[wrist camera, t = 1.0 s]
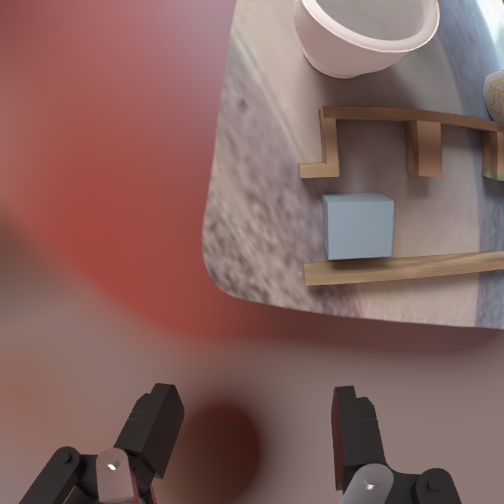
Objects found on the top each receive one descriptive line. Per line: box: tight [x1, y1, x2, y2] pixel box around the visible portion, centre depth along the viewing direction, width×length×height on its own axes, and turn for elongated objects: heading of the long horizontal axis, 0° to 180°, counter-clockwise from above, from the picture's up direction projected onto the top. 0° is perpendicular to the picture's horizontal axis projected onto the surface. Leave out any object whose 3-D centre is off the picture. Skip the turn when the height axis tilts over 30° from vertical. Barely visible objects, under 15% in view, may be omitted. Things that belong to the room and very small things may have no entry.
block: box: [322, 192, 394, 260], centre depth 31 cm, size 6×7×5 cm
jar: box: [293, 0, 440, 78], centre depth 19 cm, size 11×10×15 cm
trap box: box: [298, 106, 504, 286], centre depth 29 cm, size 19×35×4 cm, turn 95°
